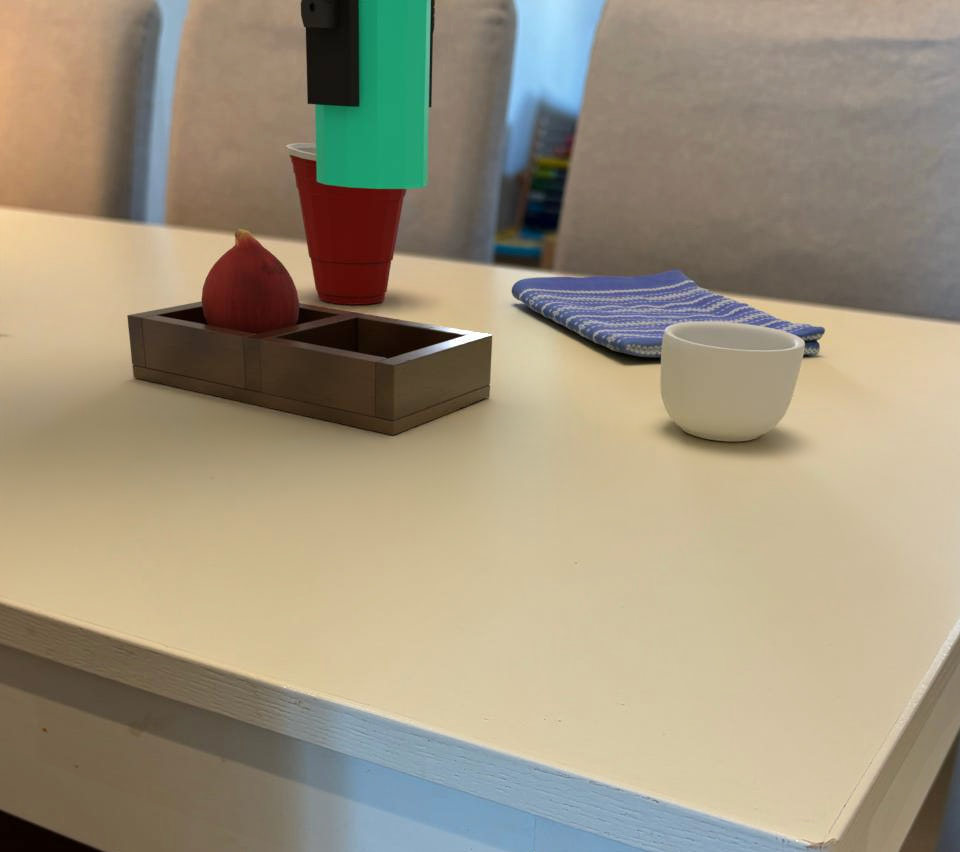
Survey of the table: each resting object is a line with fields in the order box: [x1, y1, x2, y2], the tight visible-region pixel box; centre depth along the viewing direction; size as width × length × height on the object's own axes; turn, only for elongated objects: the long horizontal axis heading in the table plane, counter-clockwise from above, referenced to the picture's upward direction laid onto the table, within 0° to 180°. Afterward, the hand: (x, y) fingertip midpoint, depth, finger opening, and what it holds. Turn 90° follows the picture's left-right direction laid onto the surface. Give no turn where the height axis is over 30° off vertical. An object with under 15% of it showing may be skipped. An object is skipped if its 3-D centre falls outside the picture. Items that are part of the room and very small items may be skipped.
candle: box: [314, 0, 431, 190], centre depth 57 cm, size 6×6×12 cm
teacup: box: [659, 322, 805, 442], centre depth 63 cm, size 10×8×5 cm
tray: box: [126, 300, 493, 436], centre depth 67 cm, size 20×10×4 cm, turn 59°
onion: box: [201, 228, 300, 334], centre depth 68 cm, size 6×6×8 cm
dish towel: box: [511, 269, 826, 358], centre depth 89 cm, size 17×24×3 cm
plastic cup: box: [285, 142, 407, 305], centre depth 93 cm, size 11×11×12 cm
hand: (371, 104), depth 58 cm, fingers closed on candle, 6 cm apart
